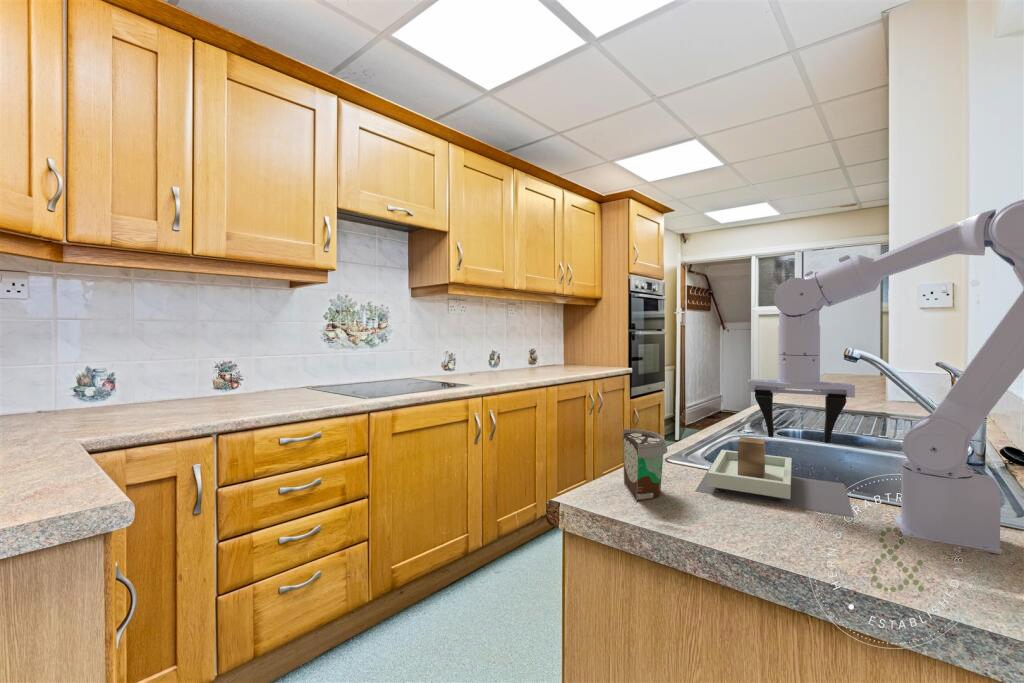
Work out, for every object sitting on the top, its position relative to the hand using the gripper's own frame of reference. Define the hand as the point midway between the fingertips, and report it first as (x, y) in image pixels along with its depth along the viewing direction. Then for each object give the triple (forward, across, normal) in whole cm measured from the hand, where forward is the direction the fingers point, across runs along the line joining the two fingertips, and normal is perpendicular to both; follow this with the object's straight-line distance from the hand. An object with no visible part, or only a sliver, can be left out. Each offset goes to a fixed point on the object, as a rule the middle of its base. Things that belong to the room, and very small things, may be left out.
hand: (798, 438), depth 75 cm
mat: (+10, +4, -4) cm, 12 cm away
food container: (+11, +22, +8) cm, 26 cm away
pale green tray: (+10, +7, -4) cm, 13 cm away
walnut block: (+8, +7, -4) cm, 11 cm away
